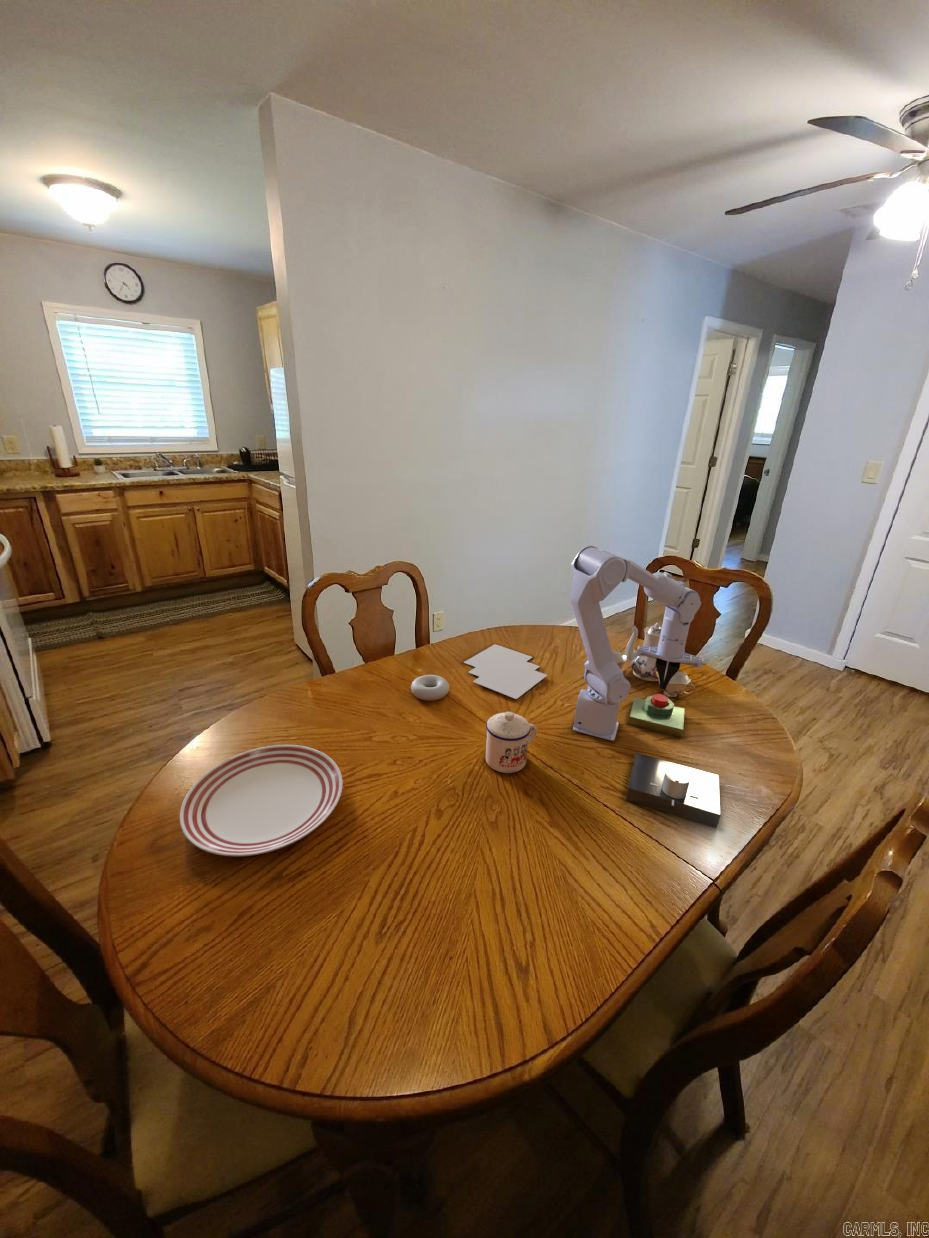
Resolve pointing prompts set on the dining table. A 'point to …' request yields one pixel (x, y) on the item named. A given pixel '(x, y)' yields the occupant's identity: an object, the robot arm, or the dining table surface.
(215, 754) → the dining table surface
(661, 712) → the block
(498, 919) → the dining table surface
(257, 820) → the dinner plate
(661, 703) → the button
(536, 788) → the dining table surface
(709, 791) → the hob panel
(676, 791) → the hob knob
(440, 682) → the donut
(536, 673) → the paper stack
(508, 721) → the teacup with lid
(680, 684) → the chinaware
